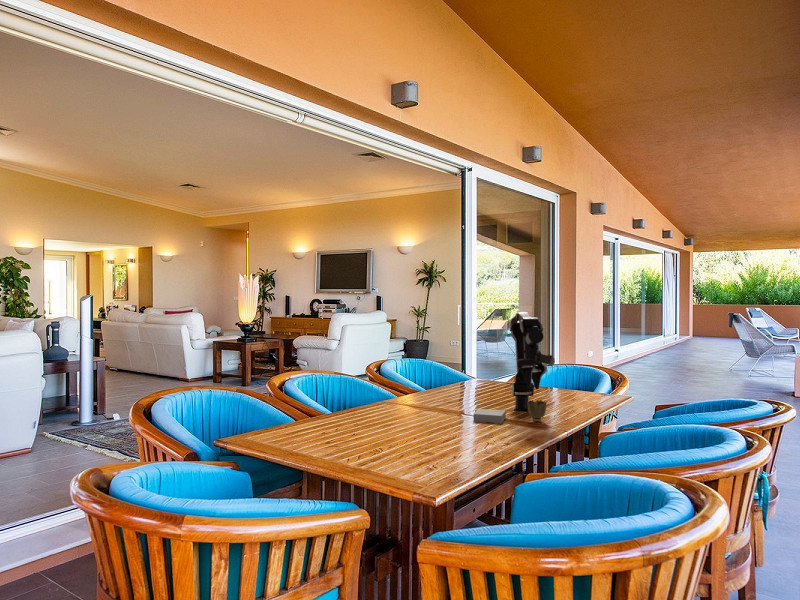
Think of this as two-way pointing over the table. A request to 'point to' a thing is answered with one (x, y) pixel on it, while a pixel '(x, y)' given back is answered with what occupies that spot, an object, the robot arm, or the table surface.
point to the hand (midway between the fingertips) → (533, 387)
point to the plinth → (489, 415)
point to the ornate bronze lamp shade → (536, 410)
